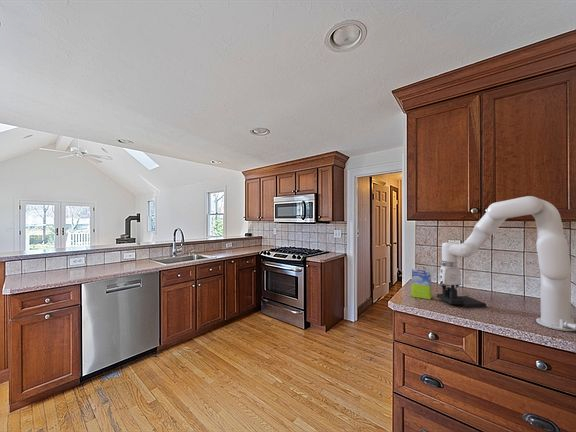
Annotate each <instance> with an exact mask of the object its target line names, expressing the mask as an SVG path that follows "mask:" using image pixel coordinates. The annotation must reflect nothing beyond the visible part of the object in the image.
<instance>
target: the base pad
mask: <svg viewBox="0 0 576 432" xmlns="http://www.w3.org/2000/svg"><path fill="white" fill-rule="evenodd" d="M458 296H459V297H461V298H462V300H463V304H459V306H460V307H463V308H465V309H475V308H487V303H485V302H483V301H481V300H478V299H475V298H473V297H470V296H468V295H458Z"/></svg>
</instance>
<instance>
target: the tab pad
mask: <svg viewBox="0 0 576 432" xmlns="http://www.w3.org/2000/svg"><path fill="white" fill-rule="evenodd" d="M441 288H442V287H441ZM448 290H449V297H446V296H444V289H443V288H442V291H441V293H437V294H436V298H437V299H440V300H442V301H443V302H445V303H446V302H447V303H448V304H450V305H460V304H463V300H462V298H461V297H459V296H460V295H458V290H457V289H456V290H455V289H453V288H451V286H448Z"/></svg>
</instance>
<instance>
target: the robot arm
mask: <svg viewBox="0 0 576 432" xmlns="http://www.w3.org/2000/svg"><path fill="white" fill-rule="evenodd" d="M530 215H531V216H532V217H533V218H534V222H535V228H536V235H537V239H536V241H535V242H536V243H535V245H536V246H535V247H536V252H537V253H536V254H537V259H538V260H537V261H538V269H539V272H540V273H539V275H540V278H539V279H540V280H539V281H540V284H539V285H540V287H539V288H540V289H539V291H540V295H539V296H540V317H537V318H536V319H535V322H536V323H537V324H538V325H539V326H542V327H545V328H549V329H551V330H557V331H563V332H576V323H575V319H573V318H572V297H571V295H572V288H571V287H572V285H571V283H572V282H571V275H572V274H571V273H572V265H571V258H570V257H571V256H570V250H569V245H568V241H567V239H566V238H565V237H566V236H565V232H564V228H563V227H564V226H563V222H562V218H561V217H562V216H561V214H560V212H559V210H558V209H557V207H555V205H554V204H552V203H551V202H549V201H547V200H545V199H543V198H542V199H541V198H539V197H536V196H532V195H526V196H521V197H517V198H511V199H507V200H502V201H501V200H500V201H496V202H492V203H491V204H490V205H489V206H488V207H487V209H486V212H485V213H484V214H483V216H482V217H481V218H480V219H479V220H478V221H477V222H476V223H475V224H474V227H473V230H472V232H471V234H470V235H469V236H468V237H467V238H466V240H464V242H462V243H456V242H449V241H447V242H446V241H445V242H443V243H441V261H440V263H439V264H440V269H439V277H438V278H439V281H438V283H437V285H438V286H440V287H441V288H443V289H444V296H446V297H449V290H448V287H449V286H450V288H453V289H455V290H457V289H458V288H459V287H460V286H461V285H462V276H461V270H460V267H459V266H458V257H460V258H469V257H471V256H473V255H475V253H477V252H478V251H479V249H480V248H481V247H482V246H483V245H484V244H485V243H486V242H487V240H489V238H491V237H492V235H493V234H494V233H495V232H496V231H497V230H498V228H499V227H500V226H501V225H502V224H503V223H504V222H505V221H506V220H507V219H511V218H517V217H522V216H530Z"/></svg>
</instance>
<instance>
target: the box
mask: <svg viewBox="0 0 576 432" xmlns="http://www.w3.org/2000/svg"><path fill="white" fill-rule="evenodd" d="M411 297H412V298H419V299H425V300H430V301H431V300H432V273H431V271H430V270H423V269H416V268H411Z"/></svg>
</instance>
